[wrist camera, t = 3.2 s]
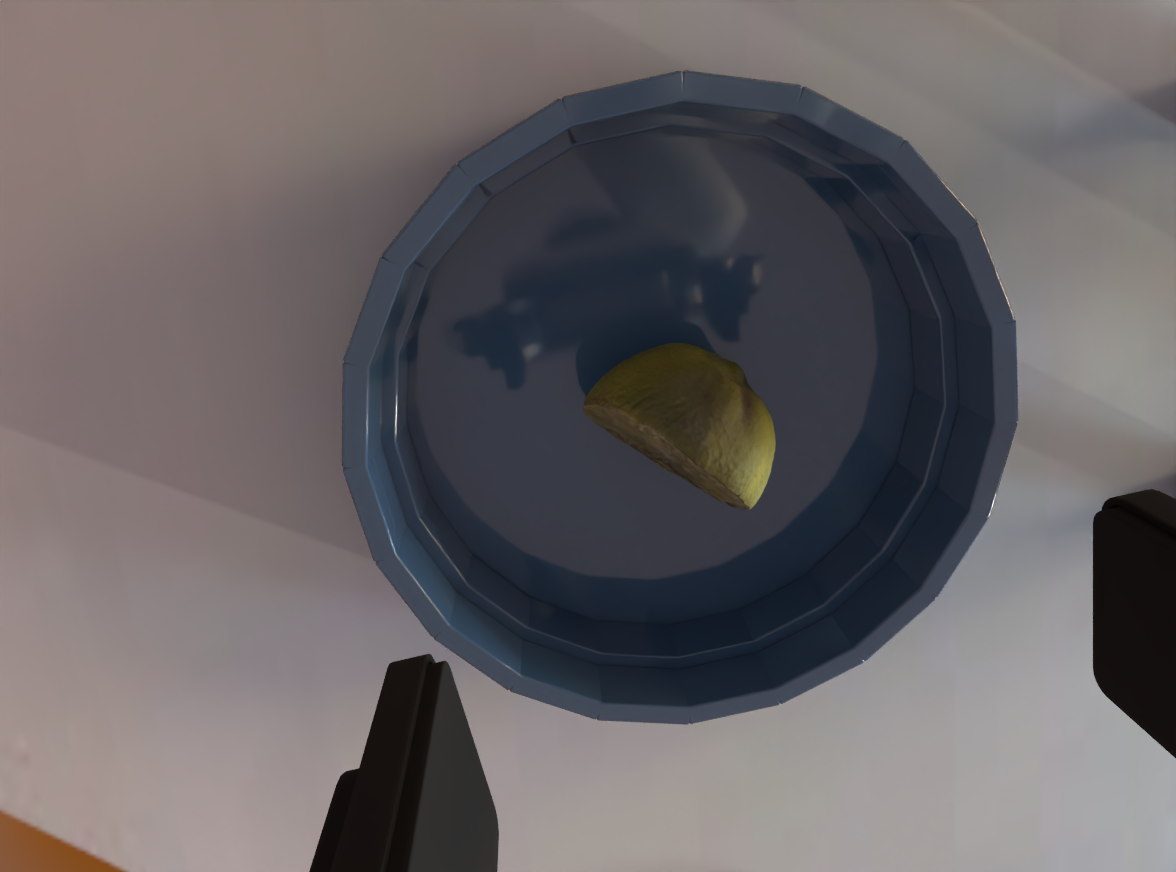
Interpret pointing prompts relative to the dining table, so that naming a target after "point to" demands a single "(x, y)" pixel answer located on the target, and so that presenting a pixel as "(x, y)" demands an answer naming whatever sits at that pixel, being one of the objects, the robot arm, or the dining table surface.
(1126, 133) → the dining table surface
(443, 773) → the robot arm
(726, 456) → the lime
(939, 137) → the dining table surface
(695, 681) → the bowl
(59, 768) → the dining table surface
